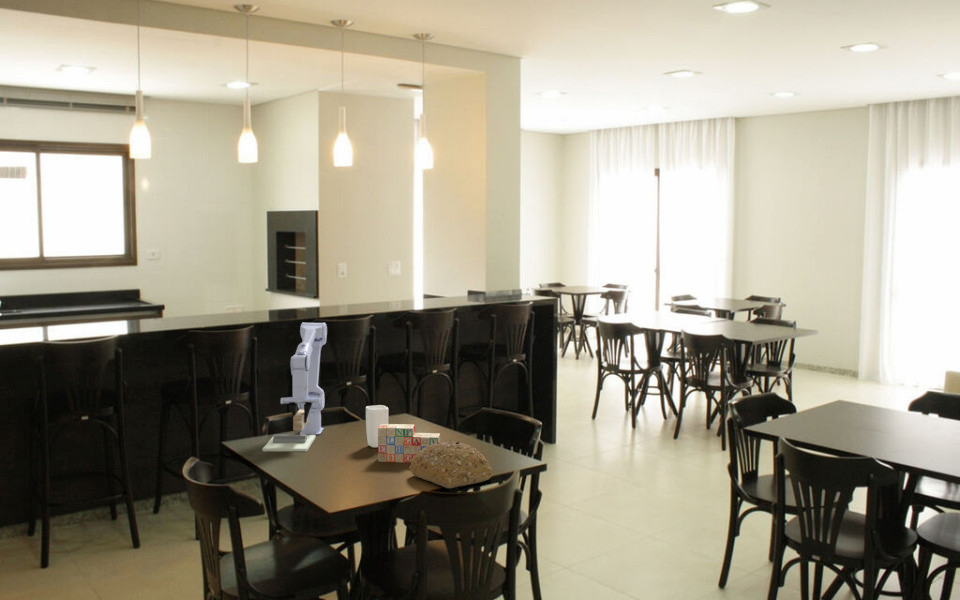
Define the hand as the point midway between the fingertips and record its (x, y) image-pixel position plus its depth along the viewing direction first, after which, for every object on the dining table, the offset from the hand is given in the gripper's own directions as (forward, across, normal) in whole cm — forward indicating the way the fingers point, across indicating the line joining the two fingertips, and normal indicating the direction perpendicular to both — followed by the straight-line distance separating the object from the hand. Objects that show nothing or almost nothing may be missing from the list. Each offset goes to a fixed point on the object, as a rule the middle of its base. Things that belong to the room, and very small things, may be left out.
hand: (300, 422), depth 305 cm
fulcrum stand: (+8, -4, 0) cm, 9 cm away
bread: (+9, +56, -43) cm, 72 cm away
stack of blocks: (+9, +42, -22) cm, 48 cm away
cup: (+9, +29, -3) cm, 30 cm away
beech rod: (+2, 0, 0) cm, 2 cm away
